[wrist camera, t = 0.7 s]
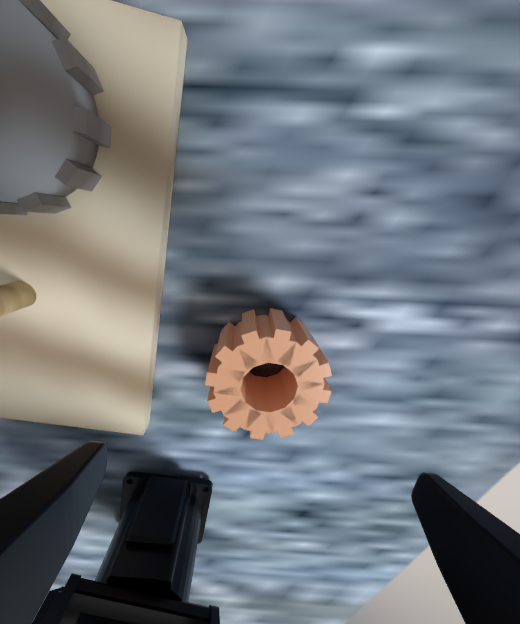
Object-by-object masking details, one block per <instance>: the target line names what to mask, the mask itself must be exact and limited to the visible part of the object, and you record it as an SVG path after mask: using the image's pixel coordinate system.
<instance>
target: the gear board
mask: <svg viewBox="0 0 520 624" xmlns="http://www.w3.org/2000/svg"><path fill="white" fill-rule="evenodd" d="M186 48H187V37H186V34H185V31H184V28H183V24H182V21H180V20H176V19H173V18H170V17H166V16H163V15H159V14H156V13H152V12H149V11H146V10H142V9H139V8H135V7H132V6H129V5H125V4H122V3H118V2H115V1H112V0H0V418H6V419H14V420H22V421H31V422H39V423H47V424H55V425H63V426H71V427H79V428H87V429H95V430H104V431H112V432H120V433H128V434H136V435H144V433H145V431H146V429H147V426H148V424H149V421H150V411H151V401H152V391H153V381H154V371H155V361H156V351H157V341H158V331H159V320H160V310H161V300H162V290H163V280H164V270H165V260H166V250H167V240H168V230H169V220H170V209H171V199H172V189H173V179H174V169H175V159H176V149H177V139H178V129H179V119H180V109H181V99H182V88H183V78H184V68H185V58H186Z"/></svg>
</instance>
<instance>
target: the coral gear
mask: <svg viewBox="0 0 520 624" xmlns="http://www.w3.org/2000/svg"><path fill="white" fill-rule="evenodd" d="M265 363H274V364H280V365H284V366H285V367H284V368H283V369H282V370H281V371H280V372H279V373H278V374H275V375H272V376H269V377H260V376H254V375H253V374H252V373H250V372H249V371H250V370H251V369H252V368H253V367H256V366H259V365H262V364H265ZM331 375H332V374H331V370H330V367H329V363H328V361H327V360H326V358H325V356H324V355H323V353H322V351H321V350H320V348H319V346H318V345H317V343H316V341H315V340H314V338H313V337H312V336H311V334H310V332H309V331H308V329H307V327H306V326H305V324H304V323H303V322H301V321H300V320H299V319H298V318H297V317H295V318H294V319H293V320H292V321H291V322H289V321H288V320H287V319H286V318H285V316H284V313H283V311H282V310H278V309H273V308H270V309H269V314H268V315H263V314H262V315H259V316H256V313H255V310H254V309H253V310H250V311H247V312H244V313H242V321H241V322H239V323H238V324H237V325H236V326H234V325H233V324H232V323H230V322H228V323H227V324H226V326H225V327H224V328H223V329H222V330H221V333H220V337H219V341H218V344H216V343H215V345H214V348H213V352H212V356H211V360H210V363H209V367H208V371H207V376H206V382H205V385H206V386H210V391H209V395H208V400H207V402H208V404H209V406H210V408H211V410H212V412H213V413H214V412H217V411H220V410H221V411H222V413H223V415H224V423H223V425H224V426H226V427H227V428H229V429H230V430H232V431H233V432H235V431H236V430H237V429H238V428H239V427H241V428H243V429H244V430H249V431H250V438H255V439H262V440H264V436H265V433H275V432H278V433H279V435H280V438H283V437H286V436H289V435H293V434H294V432H293V428H292V427H295V426H298V425H299V424H300V423H301V422H302V421H303V422H304V423H305V424H307V425H308V426H309V425H310V424H311V423H312V422H313V421H315V420H316V419H317V418H318V414H317V412H316V408H317V406H318V403H319V402H321V403H328V400H329V397H330V394H331V389H330V387H329V385H328V383H327V382H326V380H325V377H328V376H331Z"/></svg>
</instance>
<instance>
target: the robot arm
mask: <svg viewBox="0 0 520 624" xmlns="http://www.w3.org/2000/svg"><path fill="white" fill-rule="evenodd" d="M106 463H107V445H106V443H105V442H99V441H89V442H87V443H85V444H84V445H82V446H81V447H79V448H77V449H76V450H74V451H73V452H71V453H70V454H68V455H67V456H65V457H64V458H62V459H61V460H59V461H58V462H56V463H55V464H53V465H51V466H50V467H48V468H47V469H45V470H44V471H42V472H41V473H39V474H38V475H36V476H35V477H33V478H32V479H30V480H29V481H27V482H25V483H24V484H22V485H21V486H19V487H18V488H16V489H15V490H13V491H12V492H10V493H9V494H7V495H6V496H4V497H3V498H1V499H0V624H31V623H32V624H220V617H219V607H217V606H212V605H210V606H209V607H207V606H202V605H198V604H193V603H189V595H190V589H191V582H192V576H193V569H194V563H195V556H196V550H197V544H198V543H200V542H201V541H202V537H203V533H204V528H205V523H206V518H207V513H208V508H209V503H210V498H211V493H212V486H213V483H212V482H211V481H210V480H205V479H196V478H186V477H177V476H168V475H159V474H150V473H140V472H128V473H127V474H126V475H125V477H124V479H123V487H122V501H121V516H120V523H119V525H118V527H117V530H116V532H115V534H114V537H113V539H112V541H111V544H110V546H109V548H108V551H107V553H106V555H105V558H104V560H103V562H102V565H101V567H100V569H99V572H98V574H97V576H96V579H95V581H93V580H88V579H84V578H81V575H77V574H73V573H72V574H71V576H70V578H69V580H68V582H67V584H66V585H65V587H61V588H59V589H55V590H52V591H49V590H50V588H51V586H52V584H53V582H54V581H55V579H56V577H57V575H58V573H59V571H60V570H61V568H62V566H63V564H64V562H65V560H66V559H67V557H68V555H69V553H70V551H71V549H72V547H73V545H74V543H75V541H76V539H77V536H78V534H79V532H80V530H81V527H82V525H83V523H84V521H85V518H86V516H87V514H88V511H89V509H90V507H91V505H92V502H93V500H94V498H95V496H96V493H97V491H98V489H99V486H100V484H101V482H102V480H103V477H104V475H105V471H106ZM411 496H412V502H413V505H414V507H415V510H416V512H417V515H418V517H419V520H420V522H421V525H422V528H423V530H424V533H425V535H426V538H427V540H428V543H429V545H430V548H431V550H432V553H433V555H434V557H435V560H436V562H437V565H438V567H439V569H440V571H441V573H442V576H443V578H444V580H445V582H446V584H447V586H448V588H449V590H450V592H451V594H452V597H453V599H454V601H455V603H456V605H457V607H458V609H459V611H460V613H461V615H462V617H463V619H464V622H465V624H520V534H519V533H517V532H516V531H515V530H513V529H512V528H511V527H509V526H508V525H506V524H505V523H504V522H502V521H501V520H499V519H498V518H497V517H495V516H494V515H492V514H491V513H490V512H488V511H487V510H486V509H484V508H483V507H481V506H480V505H479V504H477V503H476V502H474V501H473V500H472V499H470V498H469V497H468V496H466V495H465V494H463V493H462V492H461V491H459V490H458V489H456V488H455V487H454V486H452V485H451V484H450V483H448V482H447V481H445V480H444V479H443V478H441V477H440V476H438V475H437V474H434V473H421V474H420V475H419V477H418V479H417V481H416V484H415V486H414V488H413V491H412V495H411ZM48 592H49V593H48ZM47 593H48V595H47ZM46 595H47V597H46ZM45 597H46V598H45ZM44 599H45V600H44ZM43 601H44V602H43ZM42 603H43V604H42ZM41 604H42V606H41ZM40 606H41V608H40ZM39 608H40V610H39ZM38 610H39V611H38ZM37 612H38V613H37ZM36 614H37V615H36ZM35 615H36V617H35ZM34 617H35V619H34ZM33 619H34V621H33ZM32 621H33V622H32Z"/></svg>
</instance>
